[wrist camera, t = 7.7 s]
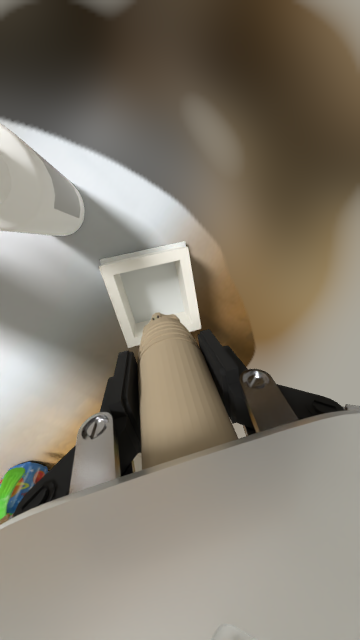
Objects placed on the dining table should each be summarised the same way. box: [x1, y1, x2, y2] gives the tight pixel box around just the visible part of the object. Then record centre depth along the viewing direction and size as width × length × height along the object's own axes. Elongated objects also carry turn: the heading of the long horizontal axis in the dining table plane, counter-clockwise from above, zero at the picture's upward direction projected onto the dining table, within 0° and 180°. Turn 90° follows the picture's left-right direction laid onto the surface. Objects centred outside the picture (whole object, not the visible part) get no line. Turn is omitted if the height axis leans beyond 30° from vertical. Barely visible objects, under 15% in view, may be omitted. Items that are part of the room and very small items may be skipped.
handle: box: [137, 312, 238, 470], centre depth 9 cm, size 5×6×15 cm
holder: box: [99, 241, 201, 348], centre depth 26 cm, size 12×12×6 cm
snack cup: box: [0, 462, 48, 520], centre depth 34 cm, size 16×10×10 cm
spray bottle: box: [0, 123, 85, 236], centre depth 15 cm, size 7×7×18 cm
